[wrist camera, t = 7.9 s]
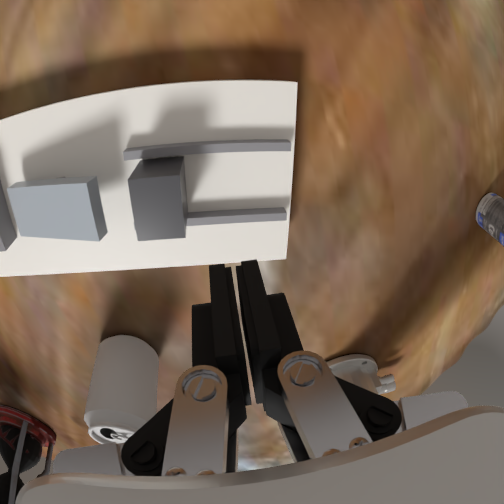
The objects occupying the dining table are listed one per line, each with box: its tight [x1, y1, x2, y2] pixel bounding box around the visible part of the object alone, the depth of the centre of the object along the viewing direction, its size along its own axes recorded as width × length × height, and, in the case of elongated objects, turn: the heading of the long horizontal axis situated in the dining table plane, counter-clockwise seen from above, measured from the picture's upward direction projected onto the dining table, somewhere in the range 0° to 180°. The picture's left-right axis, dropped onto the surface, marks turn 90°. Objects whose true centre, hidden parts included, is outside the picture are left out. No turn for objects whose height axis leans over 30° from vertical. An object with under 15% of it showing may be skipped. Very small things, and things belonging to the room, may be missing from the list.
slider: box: [128, 156, 188, 241], centre depth 19 cm, size 3×4×4 cm
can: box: [84, 335, 159, 444], centre depth 29 cm, size 8×8×12 cm
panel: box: [0, 80, 297, 277], centre depth 20 cm, size 30×14×5 cm, turn 89°
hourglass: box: [0, 405, 56, 504], centre depth 34 cm, size 16×16×25 cm
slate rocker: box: [7, 176, 108, 242], centre depth 18 cm, size 8×4×1 cm, turn 89°
